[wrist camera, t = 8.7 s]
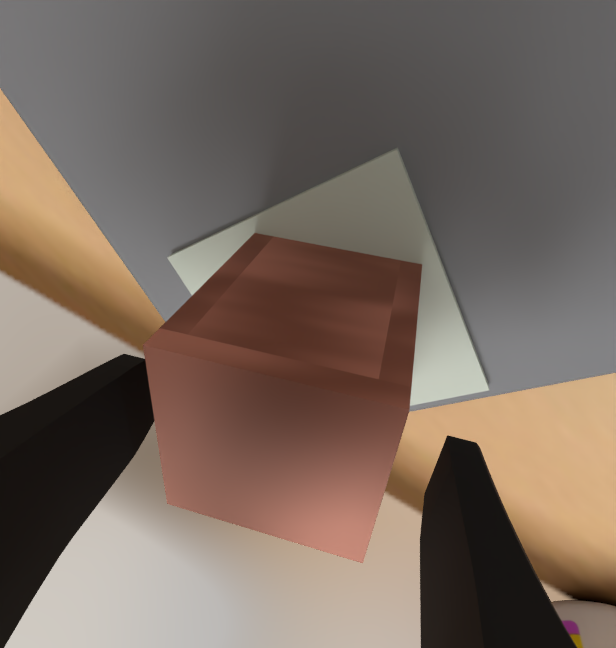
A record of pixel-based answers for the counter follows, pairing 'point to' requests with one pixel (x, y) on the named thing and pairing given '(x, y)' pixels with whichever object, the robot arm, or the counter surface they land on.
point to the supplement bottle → (588, 622)
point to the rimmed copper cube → (287, 390)
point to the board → (351, 156)
